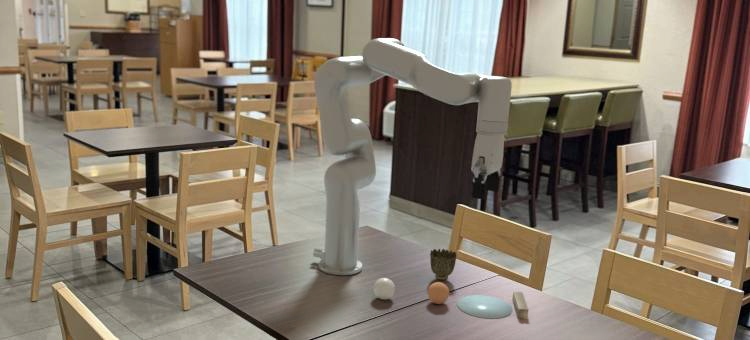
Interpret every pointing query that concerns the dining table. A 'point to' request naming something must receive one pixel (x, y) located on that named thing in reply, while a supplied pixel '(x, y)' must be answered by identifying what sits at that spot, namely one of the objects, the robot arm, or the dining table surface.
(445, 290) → the terracotta ball
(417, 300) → the dining table surface
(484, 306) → the light blue plate
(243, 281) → the dining table surface
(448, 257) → the cup
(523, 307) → the tan bar
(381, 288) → the ivory ball
